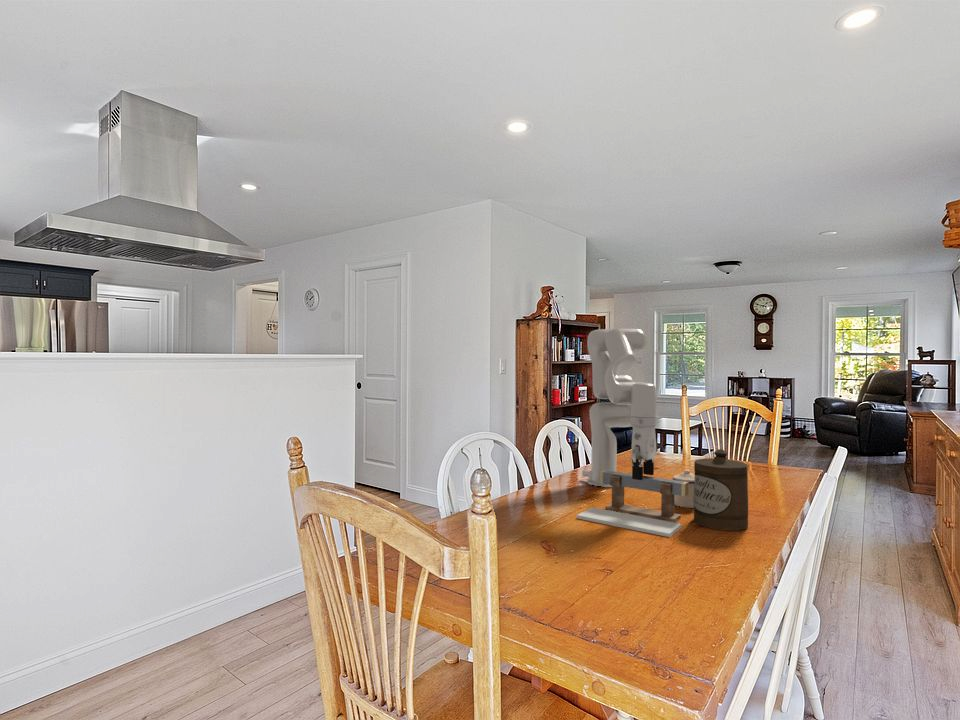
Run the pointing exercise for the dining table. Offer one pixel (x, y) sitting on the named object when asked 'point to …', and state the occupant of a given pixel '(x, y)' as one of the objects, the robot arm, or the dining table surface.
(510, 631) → the dining table surface
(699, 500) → the wooden container
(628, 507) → the rack
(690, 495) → the teacup with lid
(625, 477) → the rail
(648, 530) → the mat
